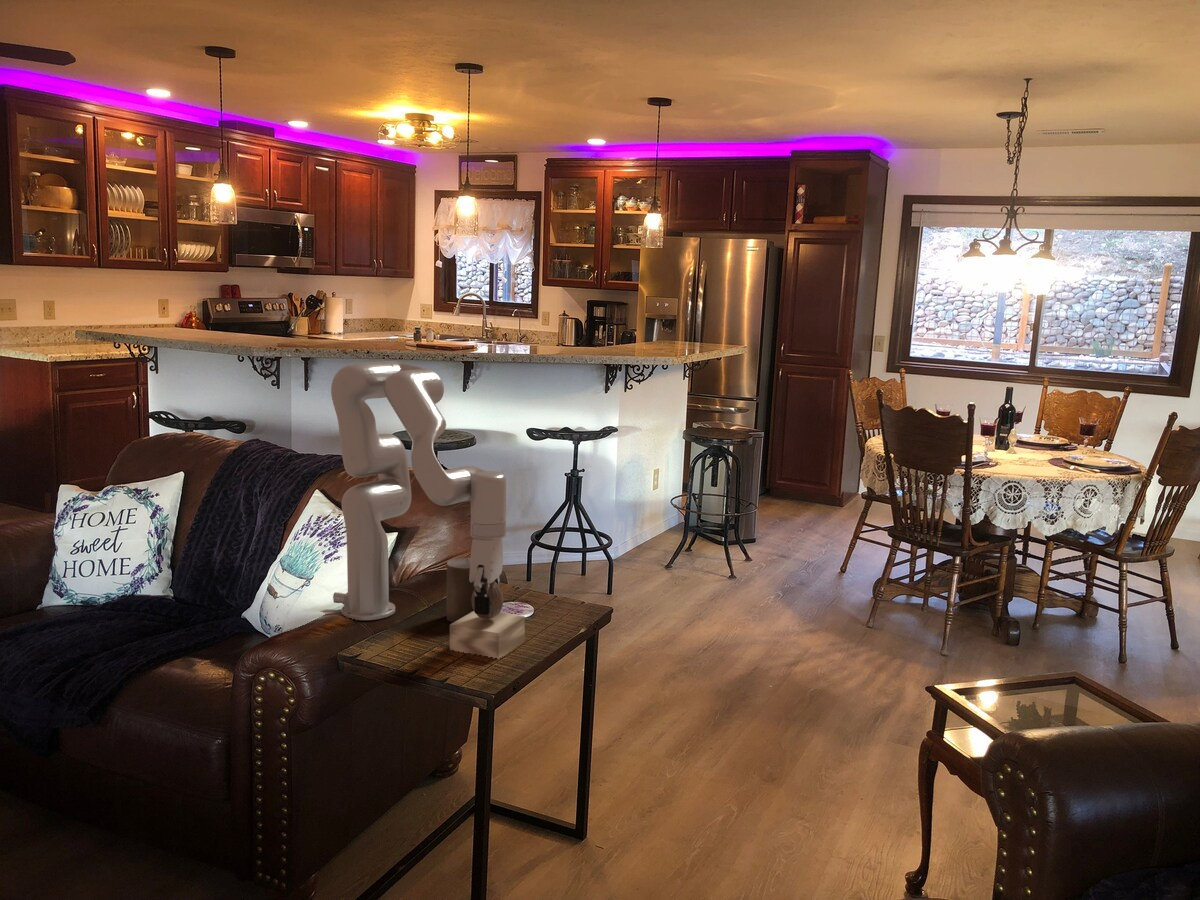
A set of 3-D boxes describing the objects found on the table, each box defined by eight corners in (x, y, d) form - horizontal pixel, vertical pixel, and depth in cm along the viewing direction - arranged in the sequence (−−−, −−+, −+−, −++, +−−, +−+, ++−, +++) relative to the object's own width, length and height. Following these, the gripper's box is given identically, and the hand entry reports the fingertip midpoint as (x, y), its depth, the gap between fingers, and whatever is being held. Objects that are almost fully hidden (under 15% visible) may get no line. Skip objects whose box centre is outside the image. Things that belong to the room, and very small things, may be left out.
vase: (480, 608, 213) (481, 570, 212) (508, 613, 211) (509, 575, 209) (465, 618, 207) (465, 579, 206) (493, 622, 204) (494, 583, 203)
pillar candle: (484, 625, 222) (485, 563, 220) (442, 624, 222) (443, 561, 220) (489, 612, 232) (490, 552, 230) (449, 611, 232) (450, 551, 230)
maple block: (449, 651, 207) (449, 624, 206) (477, 633, 218) (477, 608, 217) (498, 660, 202) (498, 633, 201) (524, 642, 213) (524, 616, 212)
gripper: (483, 518, 215) (482, 595, 218) (458, 537, 198) (458, 619, 201) (515, 521, 214) (514, 597, 216) (493, 540, 197) (492, 623, 200)
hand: (487, 607), depth 209 cm, fingers closed on vase, 6 cm apart
